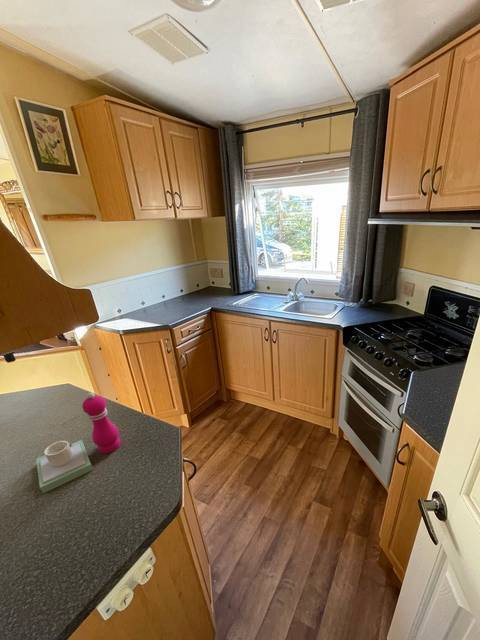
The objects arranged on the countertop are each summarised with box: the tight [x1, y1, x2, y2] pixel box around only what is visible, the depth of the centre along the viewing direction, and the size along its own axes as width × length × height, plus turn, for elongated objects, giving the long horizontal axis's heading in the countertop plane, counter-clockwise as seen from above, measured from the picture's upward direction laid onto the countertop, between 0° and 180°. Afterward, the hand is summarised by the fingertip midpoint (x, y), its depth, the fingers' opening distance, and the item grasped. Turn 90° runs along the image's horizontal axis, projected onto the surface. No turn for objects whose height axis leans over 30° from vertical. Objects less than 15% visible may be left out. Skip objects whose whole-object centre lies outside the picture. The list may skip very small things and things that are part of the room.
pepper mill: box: [81, 392, 122, 454], centre depth 88 cm, size 7×7×20 cm
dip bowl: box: [43, 440, 73, 467], centre depth 83 cm, size 6×6×4 cm
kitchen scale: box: [35, 439, 94, 494], centre depth 84 cm, size 14×12×3 cm
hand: (11, 357), depth 91 cm, fingers open, 8 cm apart
